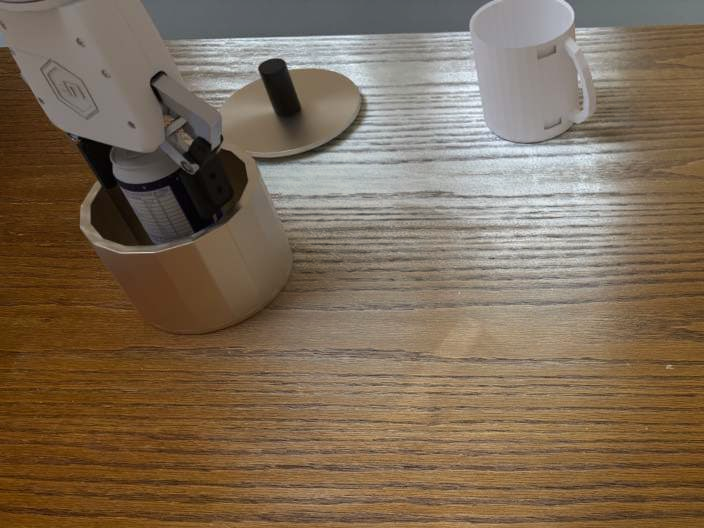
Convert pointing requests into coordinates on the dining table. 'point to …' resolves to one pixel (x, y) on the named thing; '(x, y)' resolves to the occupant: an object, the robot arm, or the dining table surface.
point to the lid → (289, 110)
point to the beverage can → (158, 193)
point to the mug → (530, 69)
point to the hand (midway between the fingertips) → (168, 191)
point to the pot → (196, 255)
